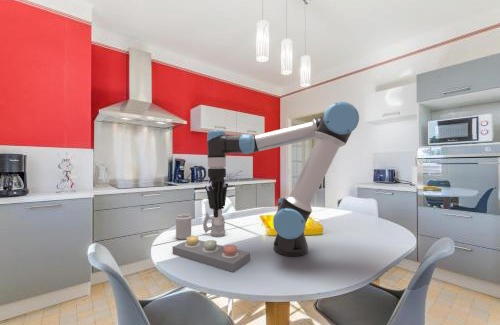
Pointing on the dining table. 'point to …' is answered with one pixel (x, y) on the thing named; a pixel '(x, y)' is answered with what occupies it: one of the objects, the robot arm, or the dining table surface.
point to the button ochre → (192, 240)
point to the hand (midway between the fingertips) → (217, 224)
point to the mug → (214, 226)
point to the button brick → (230, 249)
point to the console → (212, 255)
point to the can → (183, 226)
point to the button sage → (210, 244)
